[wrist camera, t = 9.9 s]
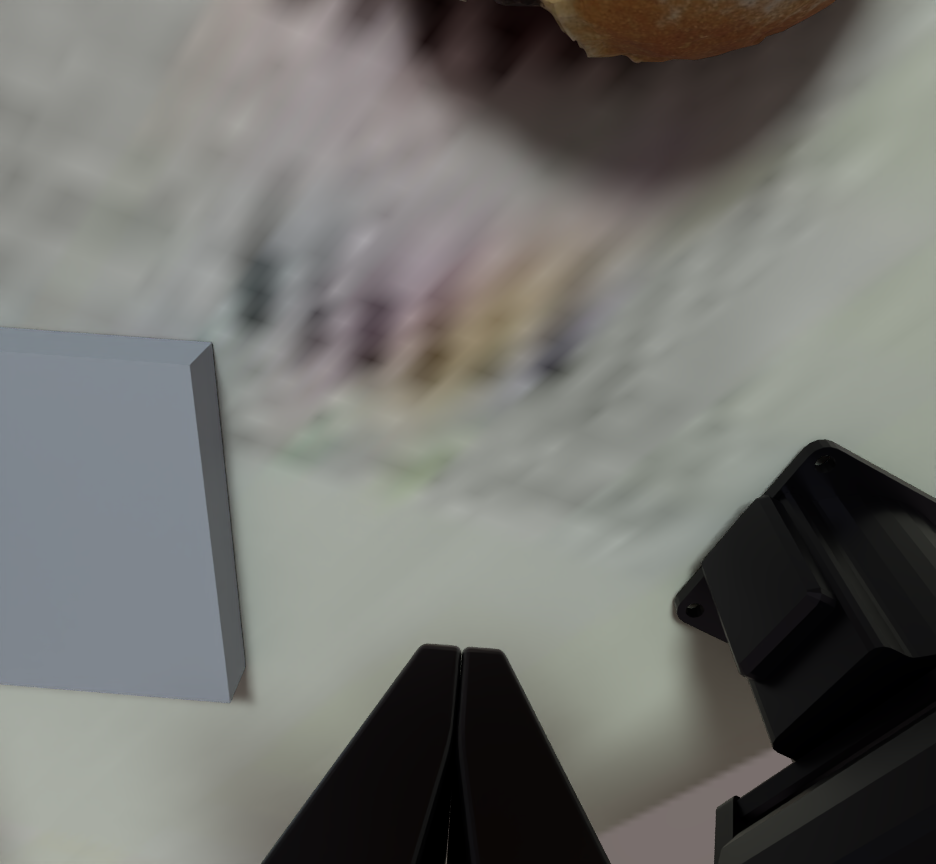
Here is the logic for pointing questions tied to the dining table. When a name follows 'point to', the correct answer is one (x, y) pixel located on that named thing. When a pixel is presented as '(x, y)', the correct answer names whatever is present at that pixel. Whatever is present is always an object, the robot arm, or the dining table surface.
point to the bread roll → (672, 25)
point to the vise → (115, 518)
